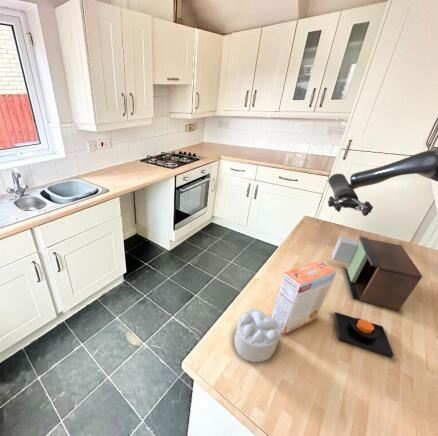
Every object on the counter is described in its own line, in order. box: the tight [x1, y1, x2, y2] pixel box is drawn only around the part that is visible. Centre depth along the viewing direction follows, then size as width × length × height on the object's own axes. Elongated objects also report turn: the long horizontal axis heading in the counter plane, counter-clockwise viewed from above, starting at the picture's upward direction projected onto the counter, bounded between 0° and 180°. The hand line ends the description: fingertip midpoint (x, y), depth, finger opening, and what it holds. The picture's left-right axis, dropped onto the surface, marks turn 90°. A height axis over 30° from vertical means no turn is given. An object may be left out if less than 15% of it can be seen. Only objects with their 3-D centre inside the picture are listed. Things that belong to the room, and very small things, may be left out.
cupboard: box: [343, 236, 423, 312], centre depth 86 cm, size 12×18×16 cm
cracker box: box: [270, 260, 337, 335], centre depth 73 cm, size 14×6×21 cm, turn 111°
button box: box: [333, 311, 394, 359], centre depth 72 cm, size 12×10×4 cm
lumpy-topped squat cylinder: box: [234, 308, 283, 363], centre depth 69 cm, size 10×13×9 cm
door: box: [331, 236, 368, 283], centre depth 93 cm, size 7×12×14 cm, turn 153°
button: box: [356, 318, 374, 334], centre depth 71 cm, size 4×4×2 cm
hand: (352, 211), depth 96 cm, fingers open, 8 cm apart
